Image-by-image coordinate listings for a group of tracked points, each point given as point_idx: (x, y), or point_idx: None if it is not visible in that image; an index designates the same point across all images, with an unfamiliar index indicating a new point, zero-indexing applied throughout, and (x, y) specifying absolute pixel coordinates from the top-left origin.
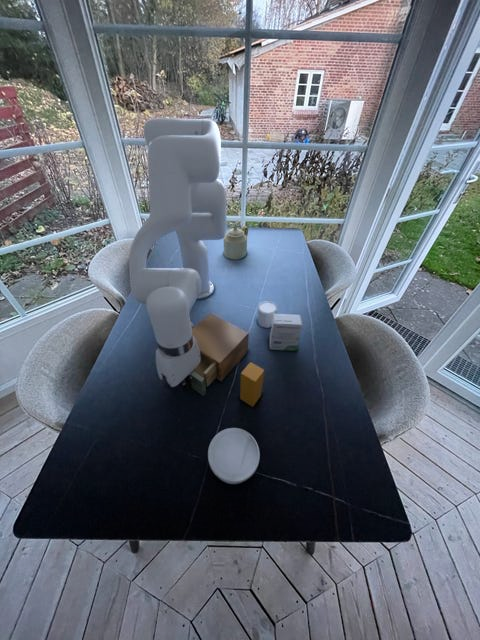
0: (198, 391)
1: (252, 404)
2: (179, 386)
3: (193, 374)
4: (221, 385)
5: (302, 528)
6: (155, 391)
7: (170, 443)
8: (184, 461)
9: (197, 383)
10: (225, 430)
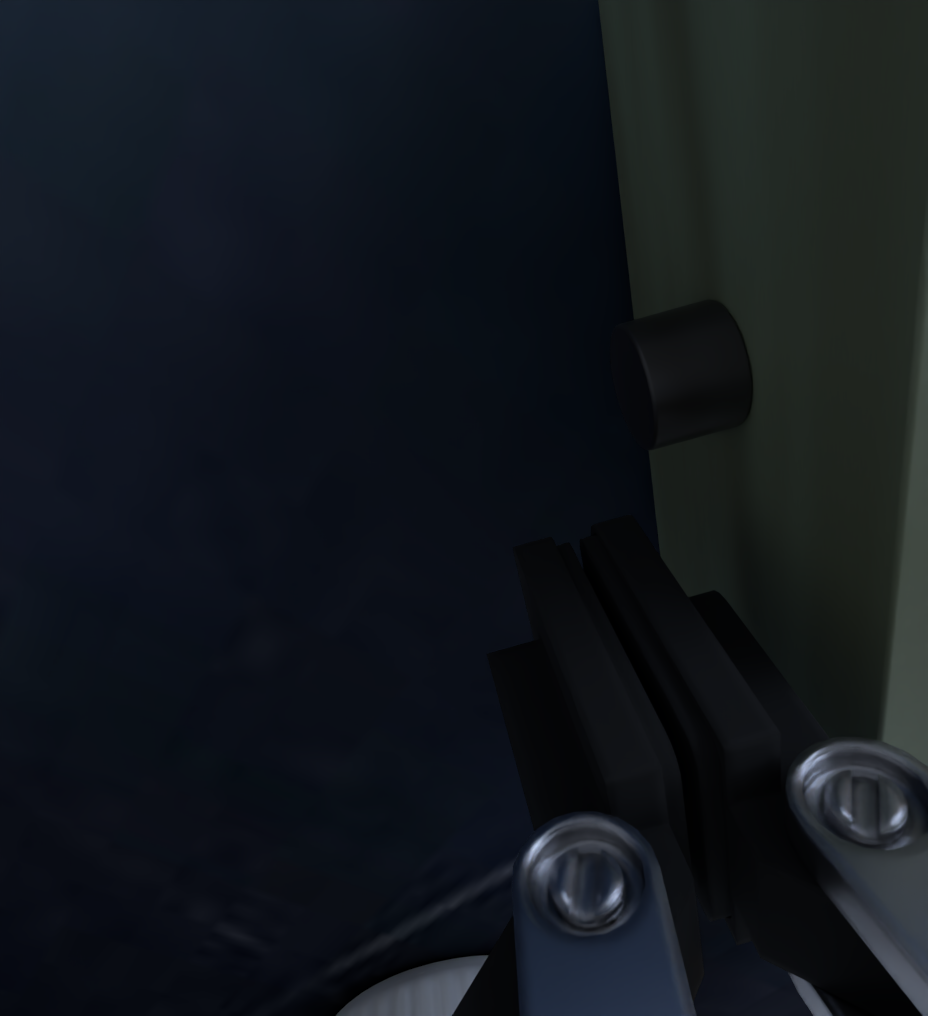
0: (669, 558)
1: None
2: (505, 719)
3: (916, 758)
4: None
5: None
6: (109, 7)
7: (70, 794)
8: (137, 934)
9: None
10: None
